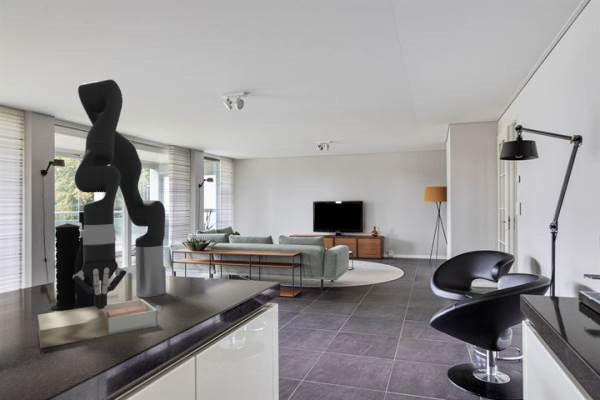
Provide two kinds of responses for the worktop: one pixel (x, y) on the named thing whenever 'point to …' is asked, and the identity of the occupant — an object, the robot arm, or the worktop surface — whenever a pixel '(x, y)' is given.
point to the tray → (131, 317)
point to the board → (71, 326)
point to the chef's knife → (158, 308)
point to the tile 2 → (136, 309)
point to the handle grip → (66, 265)
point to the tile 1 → (117, 313)
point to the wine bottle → (80, 294)
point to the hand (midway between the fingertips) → (100, 308)
